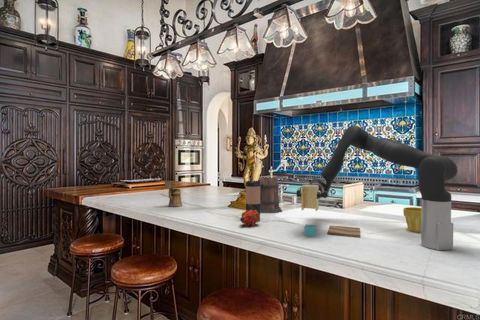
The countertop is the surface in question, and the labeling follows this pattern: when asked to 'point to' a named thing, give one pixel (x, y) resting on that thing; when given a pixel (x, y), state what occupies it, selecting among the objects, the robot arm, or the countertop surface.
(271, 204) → the tankard
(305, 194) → the brass cover
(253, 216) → the dragon fruit
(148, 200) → the countertop surface
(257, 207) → the travel mug
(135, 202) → the countertop surface
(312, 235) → the teal block
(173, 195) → the wooden mug
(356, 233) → the walnut board
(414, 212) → the plant pot
